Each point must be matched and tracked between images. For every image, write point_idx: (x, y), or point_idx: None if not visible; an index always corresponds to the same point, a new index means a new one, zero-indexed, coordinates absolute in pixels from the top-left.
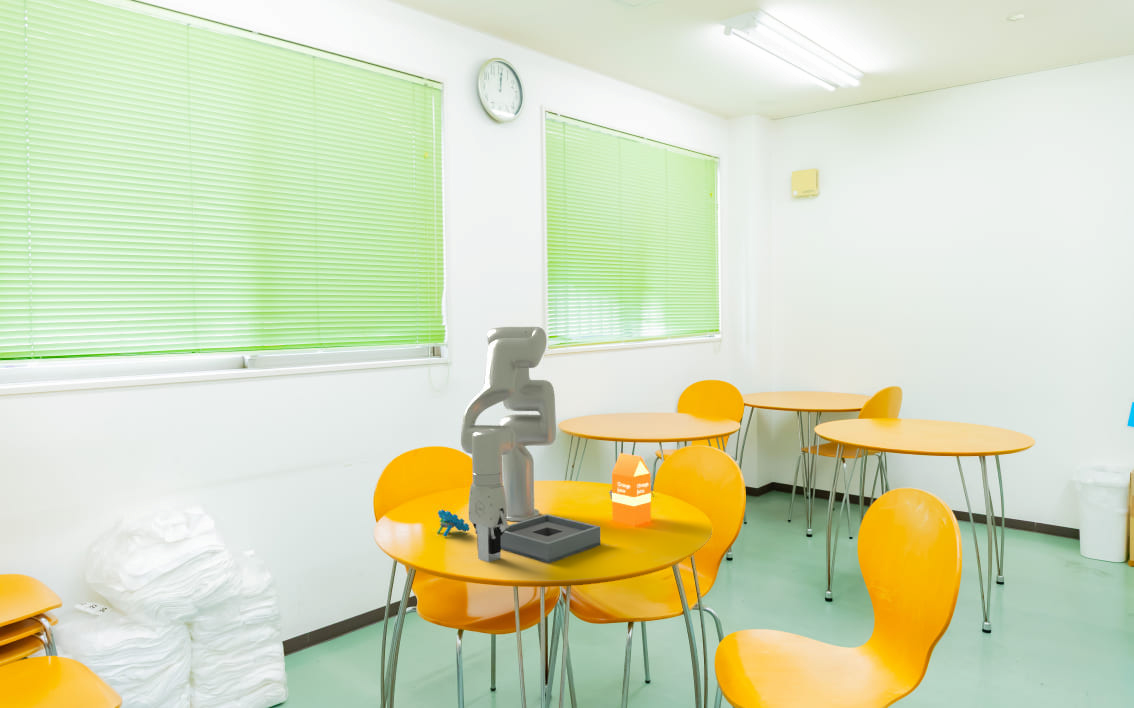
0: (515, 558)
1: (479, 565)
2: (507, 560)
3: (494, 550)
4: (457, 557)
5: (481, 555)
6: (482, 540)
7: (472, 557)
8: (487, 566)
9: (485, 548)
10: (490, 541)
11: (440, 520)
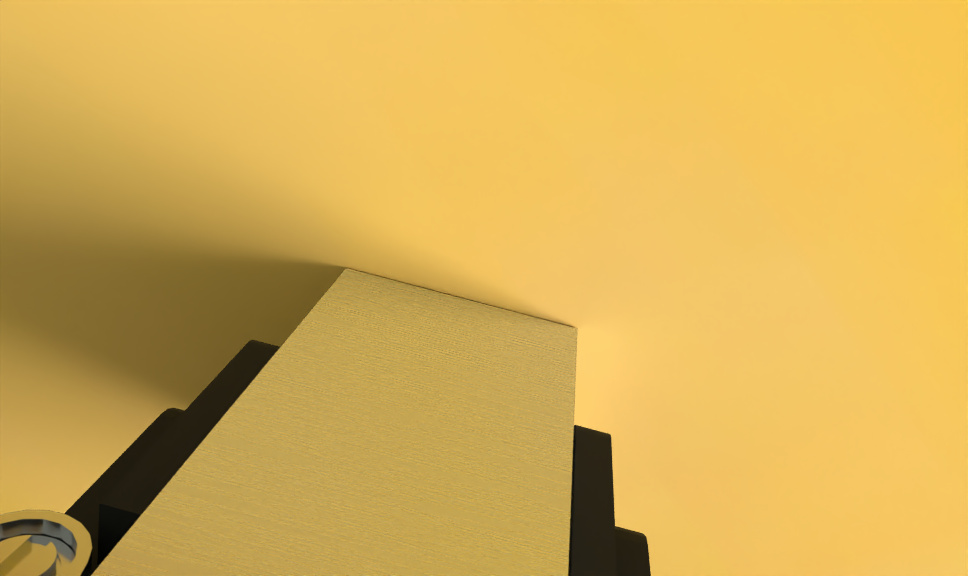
0: None
1: (398, 123)
2: None
3: None
4: (964, 289)
5: (490, 343)
6: (399, 493)
7: (721, 377)
8: (264, 140)
9: (347, 382)
10: (152, 468)
11: None
